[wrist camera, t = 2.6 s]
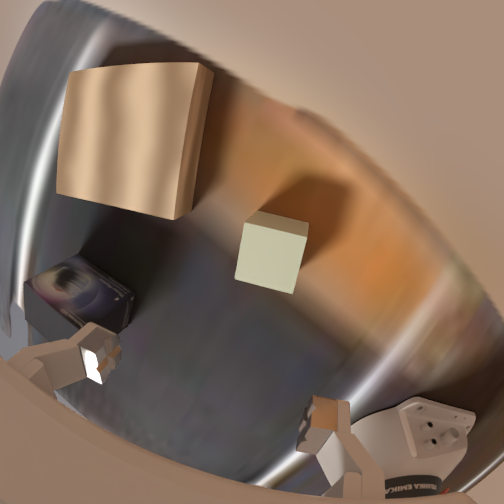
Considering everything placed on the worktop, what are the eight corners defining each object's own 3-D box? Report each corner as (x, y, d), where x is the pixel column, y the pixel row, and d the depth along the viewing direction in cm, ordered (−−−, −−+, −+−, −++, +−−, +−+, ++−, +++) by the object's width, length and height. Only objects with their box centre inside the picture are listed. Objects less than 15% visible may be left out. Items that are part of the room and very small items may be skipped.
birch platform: (214, 73, 24) (198, 62, 20) (191, 211, 29) (173, 220, 25) (92, 76, 26) (69, 72, 23) (78, 187, 31) (56, 193, 28)
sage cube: (309, 222, 27) (307, 237, 22) (297, 271, 29) (292, 294, 24) (257, 210, 28) (244, 222, 23) (248, 258, 30) (234, 278, 25)
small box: (138, 289, 34) (85, 334, 24) (129, 326, 37) (83, 372, 27) (77, 250, 35) (21, 280, 25) (73, 287, 37) (24, 321, 27)
